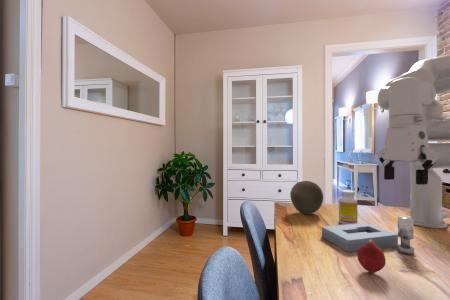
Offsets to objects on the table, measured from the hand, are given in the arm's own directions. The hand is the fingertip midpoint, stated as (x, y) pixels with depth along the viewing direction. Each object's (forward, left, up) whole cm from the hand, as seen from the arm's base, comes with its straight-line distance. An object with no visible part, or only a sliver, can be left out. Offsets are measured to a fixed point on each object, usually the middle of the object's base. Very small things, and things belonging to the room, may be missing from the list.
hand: (404, 181), depth 68 cm
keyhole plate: (+7, -10, -20) cm, 24 cm away
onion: (+19, +7, -21) cm, 29 cm away
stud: (0, 0, -20) cm, 20 cm away
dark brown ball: (+6, -41, -21) cm, 46 cm away
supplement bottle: (-3, -26, -21) cm, 33 cm away
